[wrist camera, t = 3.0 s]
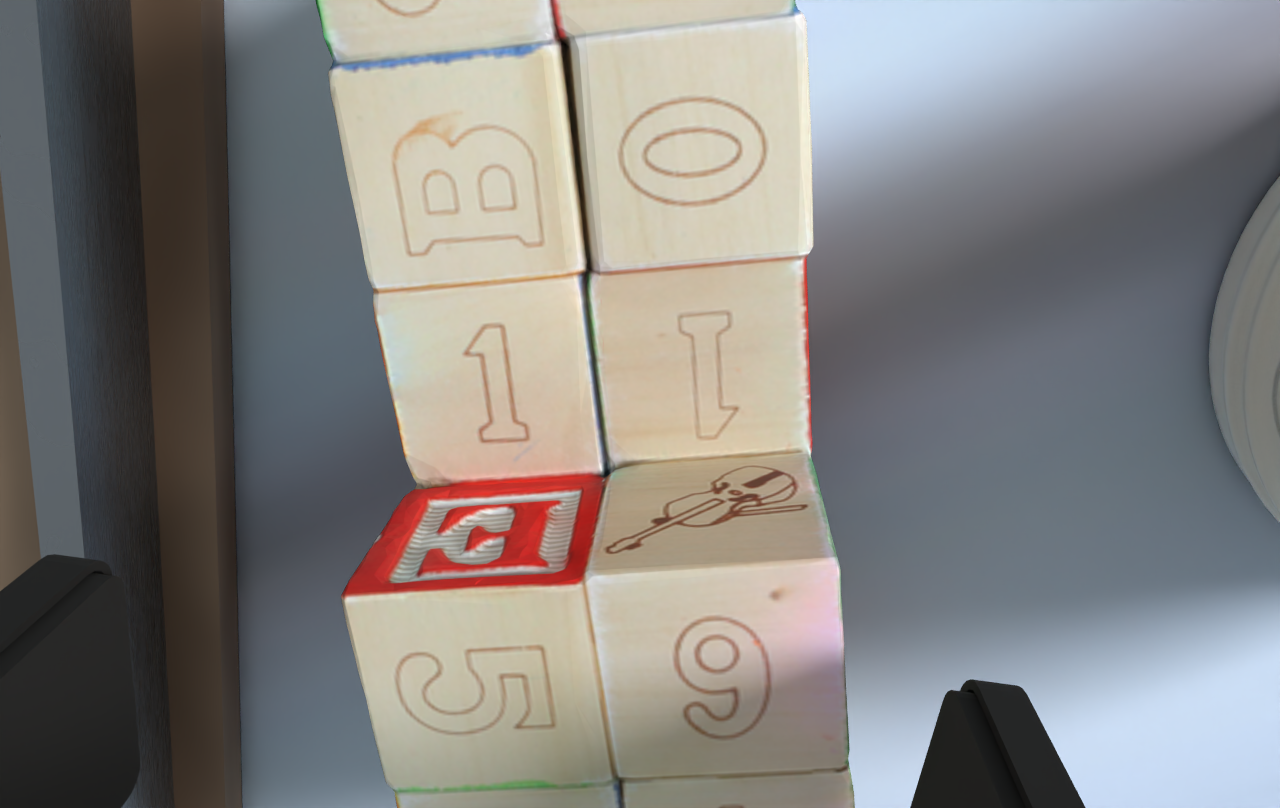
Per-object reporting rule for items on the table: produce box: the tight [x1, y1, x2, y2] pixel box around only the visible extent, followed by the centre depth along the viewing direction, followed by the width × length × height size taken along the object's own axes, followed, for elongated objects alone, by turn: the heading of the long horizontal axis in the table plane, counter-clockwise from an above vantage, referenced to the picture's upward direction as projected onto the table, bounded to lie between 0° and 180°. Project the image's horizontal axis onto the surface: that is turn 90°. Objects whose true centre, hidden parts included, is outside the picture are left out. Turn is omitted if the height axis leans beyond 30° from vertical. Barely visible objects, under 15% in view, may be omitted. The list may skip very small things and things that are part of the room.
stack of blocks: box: [316, 0, 855, 808], centre depth 17 cm, size 21×6×12 cm, turn 5°
